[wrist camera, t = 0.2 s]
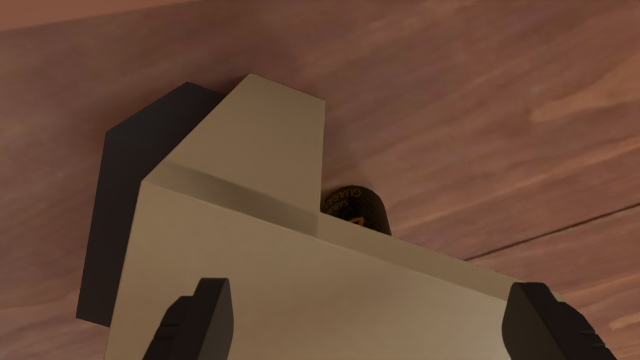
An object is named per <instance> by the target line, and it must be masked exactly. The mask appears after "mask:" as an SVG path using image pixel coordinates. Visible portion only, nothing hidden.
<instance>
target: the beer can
mask: <svg viewBox="0 0 640 360" xmlns="http://www.w3.org/2000/svg"><path fill="white" fill-rule="evenodd" d="M321 213H324V214H327V215H330V216H333V217H336V218H339V219H342V220H345V221H348V222H351V223H354V224H357V225H360V226H362V227H365V228H368V229H371V230H374V231H377V232H380V233H383V234H386V235H389V236H392V235H391V231H390V227H389V223H388V218H387V214H386V210H385V206H384V204H383V202H382V200H381V199H380V197H379V196H378V195H377V194H376V193H374V192H373V191H372V190H369V189H367V188H365V187H362V186H355V185H351V186H345V187H342V188H340V189H338V190H336V191H334V192H333V193H332V194H331V195H330V196H329V197H328V198H327V199H326V200H325V202H324V204H323V206H322V212H321Z"/></svg>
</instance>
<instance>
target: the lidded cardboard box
mask: <svg viewBox="0 0 640 360" xmlns="http://www.w3.org/2000/svg"><path fill="white" fill-rule="evenodd" d="M324 116H325V101H324V100H322V99H319V98H316V97H314V96H311V95H308V94H306V93H303V92H300V91H298V90H295V89H292V88H290V87H287V86H284V85H282V84H279V83H276V82H274V81H271V80H268V79H266V78H263V77H260V76H258V75H255V74H252V73H249V74H248V75H247V76H246V77H245V78H244V79H243V80H242V81H241V82H240V83H239V84H238V85H237V86H236V87H235V88H234V89H233V90H232V91H231V92H230V93H229V94H228V95H227V96H225V95H223V94H220V93H217V92H214V91H212V90H209V89H206V88H203V87H201V86H198V85H195V84H192V83H190V82H186V83H184V84H182V85H181V86H179V87H178V88H176V89H174V90H173V91H171V92H170V93H168V94H166V95H165V96H163V97H162V98H160V99H158V100H157V101H155V102H153V103H152V104H150V105H149V106H147V107H145V108H144V109H142V110H141V111H139V112H137V113H136V114H134V115H133V116H131V117H129V118H128V119H126V120H125V121H123V122H121V123H120V124H118V125H117V126H115V127H113V128H112V129H110V130H109V131H107V132H106V136H105V142H104V148H103V154H102V160H101V166H100V172H99V178H98V185H97V191H96V197H95V203H94V209H93V215H92V221H91V227H90V233H89V239H88V245H87V251H86V257H85V264H84V270H83V276H82V282H81V288H80V294H79V300H78V306H77V312H76V318H78V319H82V320H85V321H89V322H92V323H96V324H99V325H103V326H106V327H110V331H109V335H108V340H107V345H106V349H105V354H104V359H103V360H142V359H143V357H144V355H145V353H146V351H147V348H148V346H149V344H150V342H151V340H153V336H154V334H155V332H156V330H157V328H158V327H159V326H160V322H161V320H162V318H163V316H164V314H165V312H166V310H167V308H169V307H170V306H171V305H172V304H173V303H174V302H175V301H176V300H177V299H178V298H179V297H180V296H193V294H194V292H195V289H196V287H197V285H198V282H199V280H200V279H201V278H202V277H205V278H228V279H229V282H230V290H231V298H232V307H233V316H234V332H233V339H232V343H231V347H230V351H229V354H228V358H227V360H511V358H510V356H509V354H508V352H507V350H506V348H505V346H504V343H503V339H502V331H501V327H502V320H503V316H504V312H505V308H506V304H507V300H508V296H509V292H510V288H511V286H512V284H513V283H514V282H525V281H522V280H519V279H516V278H513V277H510V276H507V275H504V274H501V273H498V272H495V271H492V270H489V269H486V268H483V267H480V266H478V265H475V264H472V263H469V262H466V261H463V260H460V259H457V258H454V257H451V256H448V255H445V254H442V253H439V252H436V251H433V250H430V249H427V248H424V247H421V246H419V245H416V244H413V243H410V242H407V241H404V240H401V239H398V238H395V237H392V236H389V235H386V234H383V233H380V232H377V231H374V230H371V229H368V228H365V227H362V226H360V225H357V224H354V223H351V222H348V221H345V220H342V219H339V218H336V217H333V216H330V215H327V214H324V213H321V212H320V197H321V177H322V156H323V136H324ZM550 291H551V290H550ZM551 292H552V294H553V295H554V297H555V298H556V299H557V301H558V302H566V303H567V304H568V302H567V301H566V300H565V298H564V297H563V296H562V295H561V294H560V293H557V292H554V291H551Z"/></svg>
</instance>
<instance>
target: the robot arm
mask: <svg viewBox="0 0 640 360" xmlns="http://www.w3.org/2000/svg"><path fill="white" fill-rule="evenodd" d="M501 331H502V339H503V343H504V346H505V348H506V350H507V352H508V354H509V356H510V358H511V360H617V359H616V358H615V357H614V355H613V354H612V353H611V351H610V350H609V349H608V348H606V347H605V343H604V342H603V341H602V340H601V338H600V337H599V336H598V334H595V330H594V329H593V328H592V326H591V325H590V324H589V323H588V321H587V320H586V319H585V317H584V316H583V315H582V314H580V313H579V312H578V311H577V310H575V309H574V308H573V307H571V306H570V305H569V304H567V303H566V302H558V301H557V299H556V298H555V297H554V295H553V294H552V292H551V291H550V290H549V288H548V287H547V286H546V285H545V284H544V283H539V282H514V283H513V284H512V286H511V288H510V292H509V296H508V300H507V304H506V308H505V312H504V316H503V320H502V327H501ZM233 332H234V316H233V307H232V298H231V290H230V282H229V279H228V278H205V277H202V278H201V279H200V280H199V282H198V285H197V287H196V289H195V292H194V294H193V296H180V297H179V298H178V299H177V300H176V301H175V302H174V303H173V304H172V305H171V306H170V307H169V308H167V310H166V312H165V314H164V316H163V318H162V320H161V322H160V326H159V327H158V328H157V330H156V332H155V334H154V336H153V340H151V342H150V344H149V346H148V348H147V351H146V353H145V355H144V357H143V359H142V360H227V358H228V354H229V351H230V347H231V343H232V339H233Z"/></svg>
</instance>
